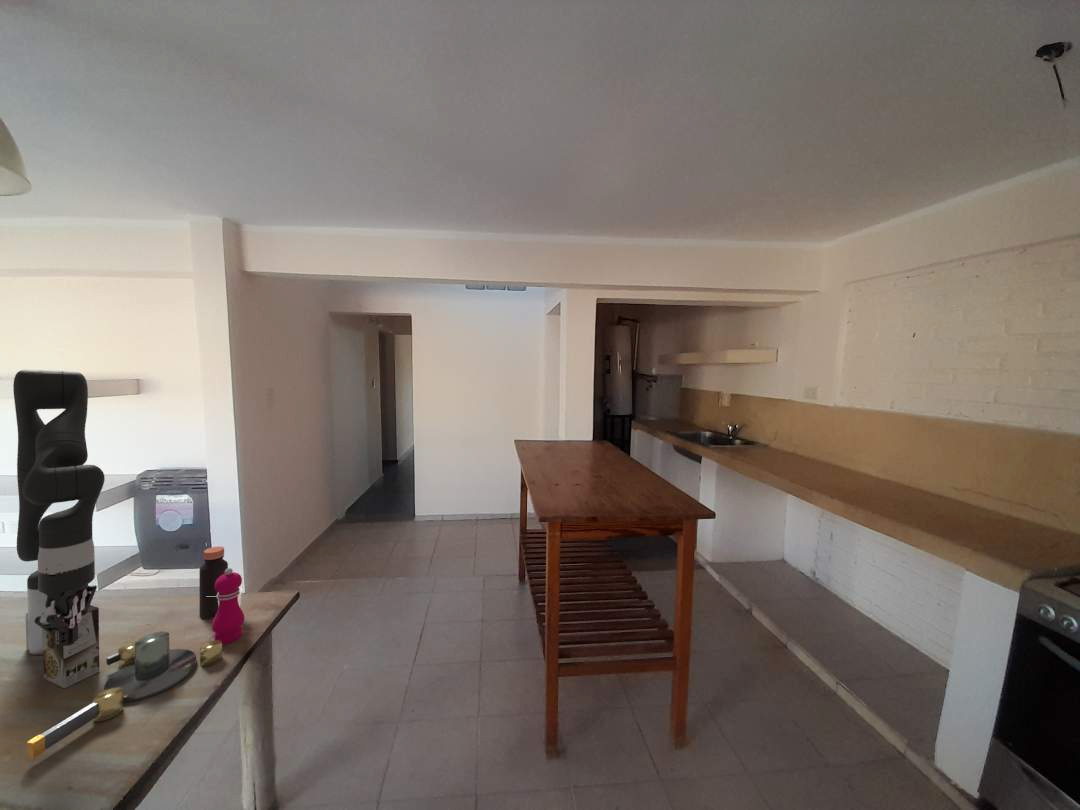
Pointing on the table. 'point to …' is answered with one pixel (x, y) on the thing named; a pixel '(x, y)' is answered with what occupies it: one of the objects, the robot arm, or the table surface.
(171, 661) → the base
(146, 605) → the table surface
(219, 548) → the bottle
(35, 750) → the brass head mallet
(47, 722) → the table surface
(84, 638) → the coffee box
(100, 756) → the table surface
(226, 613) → the pepper mill
